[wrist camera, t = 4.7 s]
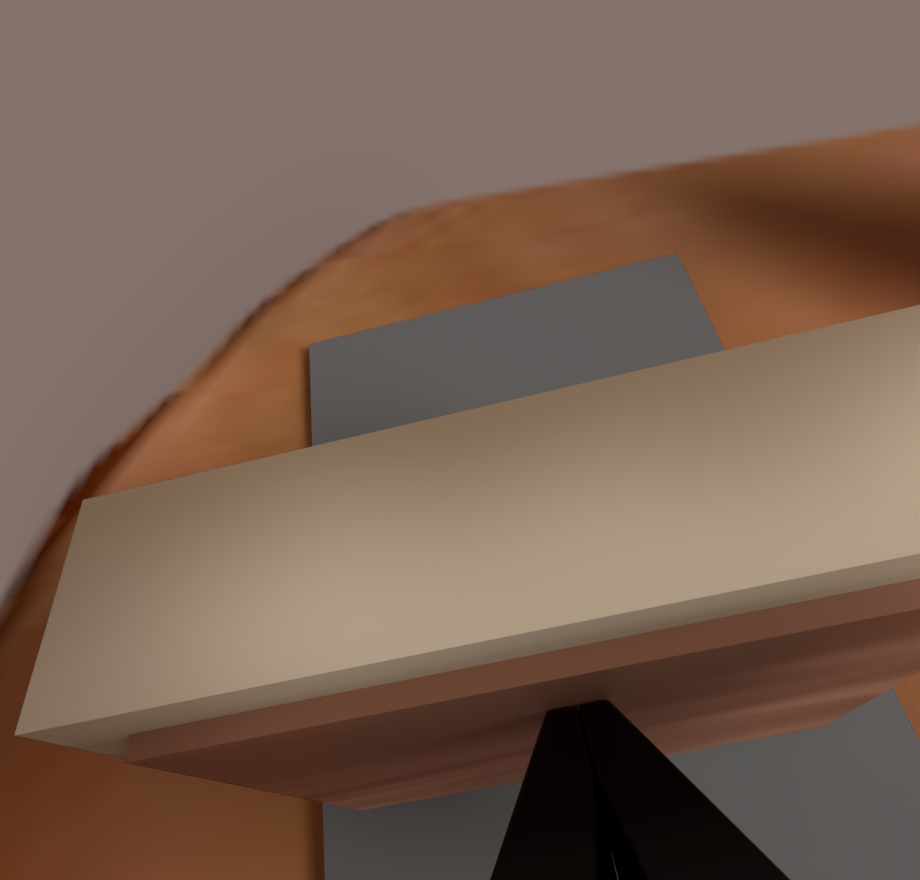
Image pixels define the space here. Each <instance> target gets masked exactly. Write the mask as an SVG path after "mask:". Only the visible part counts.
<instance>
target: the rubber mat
mask: <svg viewBox="0 0 920 880" xmlns="http://www.w3.org/2000/svg"><path fill="white" fill-rule="evenodd" d="M724 350H725V349H724V347H723V345H722V343H721V341H720V339H719V337H718V335H717V333H716V331H715V329H714V327H713V325H712V323H711V321H710V319H709V317H708V315H707V313H706V311H705V309H704V307H703V305H702V303H701V301H700V299H699V297H698V295H697V293H696V291H695V289H694V287H693V285H692V283H691V281H690V279H689V277H688V275H687V273H686V271H685V269H684V267H683V265H682V263H681V261H680V259H679V257H678V255H677V253H676V254H672V255H668V256H664V257H660V258H656V259H651V260H647V261H643V262H639V263H635V264H631V265H627V266H623V267H619V268H615V269H611V270H607V271H603V272H599V273H595V274H591V275H587V276H583V277H579V278H575V279H571V280H567V281H563V282H559V283H554V284H550V285H546V286H542V287H538V288H534V289H530V290H526V291H522V292H518V293H514V294H510V295H506V296H502V297H498V298H494V299H490V300H486V301H482V302H478V303H474V304H470V305H466V306H462V307H457V308H453V309H449V310H445V311H441V312H437V313H433V314H429V315H425V316H421V317H417V318H413V319H409V320H405V321H401V322H397V323H393V324H389V325H385V326H381V327H377V328H373V329H369V330H365V331H360V332H356V333H352V334H348V335H344V336H340V337H336V338H332V339H328V340H324V341H320V342H316V343H312V344H309V355H310V389H311V424H312V446H316V445H320V444H325V443H329V442H333V441H338V440H342V439H346V438H350V437H355V436H359V435H363V434H368V433H372V432H376V431H380V430H385V429H389V428H393V427H398V426H402V425H406V424H411V423H415V422H419V421H423V420H428V419H432V418H436V417H441V416H445V415H449V414H453V413H458V412H462V411H466V410H471V409H475V408H479V407H483V406H488V405H492V404H496V403H501V402H505V401H509V400H514V399H518V398H522V397H526V396H531V395H535V394H539V393H544V392H548V391H552V390H556V389H561V388H565V387H569V386H574V385H578V384H582V383H587V382H591V381H595V380H599V379H604V378H608V377H612V376H617V375H621V374H625V373H629V372H634V371H638V370H642V369H647V368H651V367H655V366H659V365H664V364H668V363H672V362H677V361H681V360H685V359H690V358H694V357H698V356H702V355H707V354H711V353H715V352H720V351H724ZM666 757H667V758H668V759H669V760H670V761H671V762H672V763H673V764H674V765H675V766H676V767H677V768H678V769H679V770H680V771H681V772H682V773H683V774H684V775H685V776H686V777H687V778H688V779H689V780H690V781H691V782H692V783H693V784H694V785H695V786H696V787H697V788H698V789H699V790H701V791H702V792H703V793H704V794H705V795H706V796H707V797H708V798H709V799H710V800H711V801H712V802H713V803H714V804H715V805H716V806H717V807H718V808H719V809H720V810H721V811H722V812H723V813H724V814H725V815H726V816H727V817H728V818H729V819H730V820H731V821H732V822H733V823H734V824H735V825H736V826H737V827H738V828H739V829H740V830H741V831H742V832H743V833H744V834H745V835H746V836H747V837H748V838H749V839H750V840H751V841H752V842H753V843H754V844H755V845H756V846H757V847H758V848H759V849H760V850H761V851H762V852H763V853H764V854H765V855H766V856H767V857H768V858H769V859H770V860H771V861H772V862H773V863H774V864H775V865H776V866H777V867H778V868H779V869H780V870H781V871H782V872H783V873H784V874H785V875H786V876H787V877H788V878H789V879H790V880H920V741H919V739H918V737H917V735H916V733H915V731H914V729H913V727H912V725H911V723H910V721H909V719H908V717H907V715H906V713H905V711H904V709H903V707H902V705H901V703H900V701H899V699H898V697H897V695H896V693H895V691H894V689H893V687H892V688H890V689H889V690H887V691H885V692H883V693H882V694H880V695H878V696H877V697H875V698H873V699H872V700H870V701H868V702H867V703H865V704H863V705H862V706H860V707H858V708H856V709H855V710H853V711H851V712H850V713H848V714H846V715H845V716H843V717H841V718H840V719H838V720H836V721H835V722H833V723H831V724H829V725H828V726H826V727H822V728H816V729H811V730H805V731H800V732H794V733H789V734H783V735H778V736H772V737H767V738H761V739H755V740H750V741H744V742H739V743H733V744H728V745H722V746H717V747H711V748H706V749H700V750H695V751H689V752H683V753H678V754H672V755H667V756H666ZM521 785H522V782H517V783H512V784H506V785H501V786H495V787H490V788H484V789H479V790H473V791H467V792H462V793H456V794H451V795H445V796H440V797H434V798H429V799H423V800H418V801H412V802H407V803H401V804H395V805H390V806H384V807H379V808H373V809H368V810H359V809H354V808H349V807H344V806H339V805H334V804H329V803H324V802H322V805H323V839H324V874H325V880H490V878H491V875H492V872H493V869H494V866H495V863H496V860H497V857H498V854H499V851H500V848H501V845H502V842H503V839H504V836H505V833H506V830H507V827H508V824H509V821H510V818H511V815H512V812H513V809H514V806H515V803H516V800H517V797H518V794H519V791H520V788H521ZM613 861H614V860H613ZM614 865H615V864H614ZM615 870H616V868H615ZM616 874H617V873H616ZM617 879H618V877H617Z"/></svg>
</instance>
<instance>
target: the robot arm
mask: <svg viewBox="0 0 920 880" xmlns="http://www.w3.org/2000/svg"><path fill="white" fill-rule="evenodd" d="M579 715H580V716H579ZM613 860H614V861H613ZM614 864H615V865H614ZM615 868H616V870H615ZM616 873H617V874H616ZM617 877H618V879H617ZM490 880H790V879H789V878H788V877H787V876H786V875H785V874H784V873H783V872H782V871H781V870H780V869H779V868H778V867H777V866H776V865H775V864H774V863H773V862H772V861H771V860H770V859H769V858H768V857H767V856H766V855H765V854H764V853H763V852H762V851H761V850H760V849H759V848H758V847H757V846H756V845H755V844H754V843H753V842H752V841H751V840H750V839H749V838H748V837H747V836H746V835H745V834H744V833H743V832H742V831H741V830H740V829H739V828H738V827H737V826H736V825H735V824H734V823H733V822H732V821H731V820H730V819H729V818H728V817H727V816H726V815H725V814H724V813H723V812H722V811H721V810H720V809H719V808H718V807H717V806H716V805H715V804H714V803H713V802H712V801H711V800H710V799H709V798H708V797H707V796H706V795H705V794H704V793H703V792H702V791H701V790H699V789H698V788H697V787H696V786H695V785H694V784H693V783H692V782H691V781H690V780H689V779H688V778H687V777H686V776H685V775H684V774H683V773H682V772H681V771H680V770H679V769H678V768H677V767H676V766H675V765H674V764H673V763H672V762H671V761H670V760H669V759H668V758H667V757H666V756H665V755H664V754H663V753H662V752H661V751H660V750H659V749H658V748H657V747H656V746H655V745H654V744H653V743H652V742H651V741H650V740H649V739H648V738H647V737H646V736H645V735H644V734H643V733H642V732H641V731H640V730H639V729H638V728H637V727H636V726H635V725H634V724H633V723H632V722H631V721H630V720H629V719H628V718H627V717H626V716H625V715H624V714H623V713H622V712H621V711H620V710H619V709H618V708H617V707H616V706H615V705H614V704H612V703H611V702H610V701H609V700H600V701H595V702H589V703H584V704H581V705H580V706H579V712H578V709H577V708H576V707H575V706H568V707H563V708H558V709H552V710H549V711H547V712H546V714H545V716H544V719H543V722H542V725H541V728H540V731H539V734H538V737H537V740H536V743H535V746H534V749H533V752H532V755H531V758H530V761H529V764H528V767H527V770H526V773H525V776H524V779H523V782H522V785H521V788H520V791H519V794H518V797H517V800H516V803H515V806H514V809H513V812H512V815H511V818H510V821H509V824H508V827H507V830H506V833H505V836H504V839H503V842H502V845H501V848H500V851H499V854H498V857H497V860H496V863H495V866H494V869H493V872H492V875H491V878H490Z"/></svg>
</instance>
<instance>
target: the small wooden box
mask: <svg viewBox="0 0 920 880" xmlns="http://www.w3.org/2000/svg"><path fill="white" fill-rule="evenodd" d="M919 671H920V305H917V306H913V307H908V308H904V309H900V310H896V311H891V312H887V313H883V314H878V315H874V316H870V317H866V318H861V319H857V320H853V321H848V322H844V323H840V324H835V325H831V326H827V327H823V328H818V329H814V330H810V331H805V332H801V333H797V334H793V335H788V336H784V337H780V338H775V339H771V340H767V341H762V342H758V343H754V344H750V345H745V346H741V347H737V348H732V349H728V350H724V351H720V352H715V353H711V354H707V355H702V356H698V357H694V358H690V359H685V360H681V361H677V362H672V363H668V364H664V365H659V366H655V367H651V368H647V369H642V370H638V371H634V372H629V373H625V374H621V375H617V376H612V377H608V378H604V379H599V380H595V381H591V382H587V383H582V384H578V385H574V386H569V387H565V388H561V389H556V390H552V391H548V392H544V393H539V394H535V395H531V396H526V397H522V398H518V399H514V400H509V401H505V402H501V403H496V404H492V405H488V406H483V407H479V408H475V409H471V410H466V411H462V412H458V413H453V414H449V415H445V416H441V417H436V418H432V419H428V420H423V421H419V422H415V423H411V424H406V425H402V426H398V427H393V428H389V429H385V430H380V431H376V432H372V433H368V434H363V435H359V436H355V437H350V438H346V439H342V440H338V441H333V442H329V443H325V444H320V445H316V446H312V447H307V448H303V449H299V450H295V451H290V452H286V453H282V454H277V455H273V456H269V457H265V458H260V459H256V460H252V461H247V462H243V463H239V464H235V465H230V466H226V467H222V468H217V469H213V470H209V471H204V472H200V473H196V474H192V475H187V476H183V477H179V478H174V479H170V480H166V481H162V482H157V483H153V484H149V485H144V486H140V487H136V488H132V489H127V490H123V491H119V492H114V493H110V494H106V495H101V496H97V497H93V498H89V499H84V500H83V502H82V505H81V509H80V512H79V515H78V519H77V522H76V526H75V529H74V533H73V536H72V539H71V543H70V546H69V550H68V553H67V556H66V560H65V563H64V567H63V570H62V574H61V577H60V580H59V584H58V587H57V591H56V594H55V598H54V601H53V604H52V608H51V611H50V615H49V618H48V622H47V625H46V628H45V632H44V635H43V639H42V642H41V645H40V649H39V652H38V656H37V659H36V663H35V666H34V669H33V673H32V676H31V680H30V683H29V687H28V690H27V693H26V697H25V700H24V704H23V707H22V710H21V714H20V717H19V721H18V724H17V728H16V731H15V734H14V735H15V736H19V737H24V738H29V739H34V740H39V741H43V742H48V743H53V744H58V745H62V746H67V747H72V748H77V749H82V750H86V751H91V752H96V753H101V754H106V755H110V756H115V757H120V758H125V763H129V764H134V765H139V766H144V767H149V768H154V769H159V770H164V771H169V772H174V773H179V774H184V775H189V776H194V777H199V778H204V779H209V780H214V781H219V782H224V783H229V784H234V785H239V786H244V787H249V788H254V789H259V790H264V791H269V792H274V793H279V794H284V795H289V796H294V797H299V798H304V799H309V800H314V801H319V802H324V803H329V804H334V805H339V806H344V807H349V808H354V809H359V810H368V809H373V808H379V807H384V806H390V805H395V804H401V803H407V802H412V801H418V800H423V799H429V798H434V797H440V796H445V795H451V794H456V793H462V792H467V791H473V790H479V789H484V788H490V787H495V786H501V785H506V784H512V783H517V782H523V779H524V776H525V773H526V770H527V767H528V764H529V761H530V758H531V755H532V752H533V749H534V746H535V743H536V740H537V737H538V734H539V731H540V728H541V725H542V722H543V719H544V716H545V714H546V712H547V711H549V710H552V709H558V708H563V707H568V706H575V707H576V708H577V709H578V712H579V706H580V705H581V704H584V703H589V702H595V701H600V700H609V701H610V702H611V703H612V704H614V705H615V706H616V707H617V708H618V709H619V710H620V711H621V712H622V713H623V714H624V715H625V716H626V717H627V718H628V719H629V720H630V721H631V722H632V723H633V724H634V725H635V726H636V727H637V728H638V729H639V730H640V731H641V732H642V733H643V734H644V735H645V736H646V737H647V738H648V739H649V740H650V741H651V742H652V743H653V744H654V745H655V746H656V747H657V748H658V749H659V750H660V751H661V752H662V753H663V754H664V755H665V756H667V755H672V754H678V753H683V752H689V751H695V750H700V749H706V748H711V747H717V746H722V745H728V744H733V743H739V742H744V741H750V740H755V739H761V738H767V737H772V736H778V735H783V734H789V733H794V732H800V731H805V730H811V729H816V728H822V727H826V726H828V725H829V724H831V723H833V722H835V721H836V720H838V719H840V718H841V717H843V716H845V715H846V714H848V713H850V712H851V711H853V710H855V709H856V708H858V707H860V706H862V705H863V704H865V703H867V702H868V701H870V700H872V699H873V698H875V697H877V696H878V695H880V694H882V693H883V692H885V691H887V690H889V689H890V688H892V687H894V686H895V685H897V684H899V683H900V682H902V681H904V680H905V679H907V678H909V677H910V676H912V675H914V674H916V673H917V672H919ZM579 716H580V715H579Z"/></svg>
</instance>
